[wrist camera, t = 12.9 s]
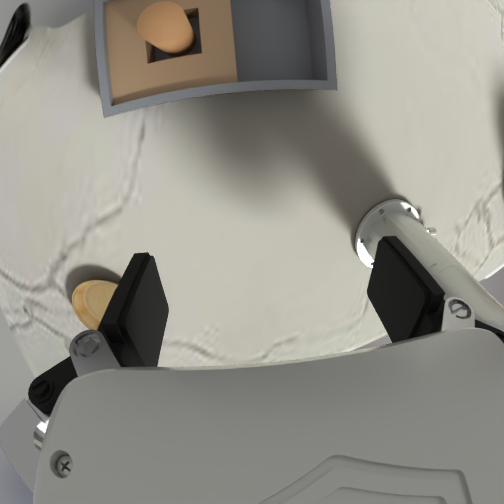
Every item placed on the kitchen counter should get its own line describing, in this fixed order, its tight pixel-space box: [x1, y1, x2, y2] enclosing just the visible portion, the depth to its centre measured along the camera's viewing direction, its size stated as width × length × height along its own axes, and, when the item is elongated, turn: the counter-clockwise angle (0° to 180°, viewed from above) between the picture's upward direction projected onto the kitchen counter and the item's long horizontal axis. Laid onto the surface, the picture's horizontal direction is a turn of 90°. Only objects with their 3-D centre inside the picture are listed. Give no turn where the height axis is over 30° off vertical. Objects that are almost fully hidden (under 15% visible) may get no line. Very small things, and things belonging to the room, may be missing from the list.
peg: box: [137, 1, 196, 57], centre depth 19 cm, size 4×4×10 cm
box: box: [94, 0, 337, 118], centre depth 21 cm, size 24×15×6 cm, turn 94°
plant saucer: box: [72, 280, 119, 330], centre depth 43 cm, size 15×15×3 cm
